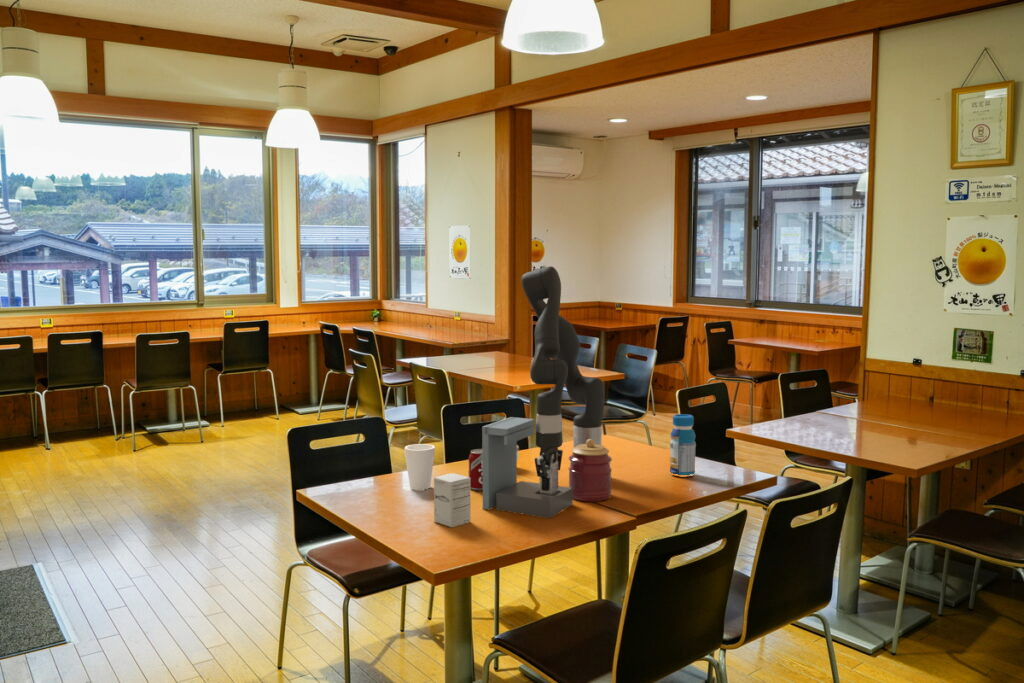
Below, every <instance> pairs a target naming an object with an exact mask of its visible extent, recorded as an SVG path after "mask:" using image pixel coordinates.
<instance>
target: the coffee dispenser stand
mask: <svg viewBox="0 0 1024 683" xmlns="http://www.w3.org/2000/svg"><path fill="white" fill-rule="evenodd" d="M481 431H482V432H481V433H482V434H481V435H482V438H481V440H482V443H481V449H482V477H483V491H482V510H486V509H490V510H491V508H492V509H494V508H495V507H497V506H496V493H497V492H499V491H501V490H503V489H507V488H509V487H511V486H514V484H516V483H518V478H517V477H518V475H517V472H518V468H517V467H518V466H517V465H518V463H517V462H518V460H517V445H518V443H517V442H518V441H520V440H523V439H526V438H528V437H530V436H534V435H535V419H534V418H526V417H524V418H523V417H514V416H509V417H507V418H504V419H501V420H497V421H495V422H492V423H490V424H486V425H484V426H482V428H481ZM494 506H495V507H494Z"/></svg>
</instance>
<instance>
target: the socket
mask: <svg viewBox="0 0 1024 683" xmlns="http://www.w3.org/2000/svg"><path fill="white" fill-rule="evenodd" d="M570 505H571V506H573V488H569V486H559V485H558V494H556V495H554V496H550V495H543V494H540V482H538V483H537V482H531V481H524V480H520V481H517V483H516V484H514V486H511V487H509V488H507V489H503V490H501V491H499V492H497V493H496V506H495V507H496V511H500V510H504V511H503V512H506V511H510V512H509V513H512V512H516V513H515V514H519V513H523V514H522V515H525V514H528V515H527V516H531V515H534V516H533V517H538V516H540V518H544V517H546V518H545V519H551V517H552V518H553V517H555V516H556V515H558V514H560V513H561V512H563V511H565V510H566V509H568V508H570V507H571V506H570ZM569 506H570V507H569ZM567 507H568V508H567ZM564 509H565V510H564ZM562 510H563V511H562ZM559 512H560V513H559ZM554 515H555V516H554Z"/></svg>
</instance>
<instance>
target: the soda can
mask: <svg viewBox="0 0 1024 683" xmlns="http://www.w3.org/2000/svg"><path fill="white" fill-rule="evenodd" d="M468 477H469V478H471V480H470V490H473V491H476V490H483V477H482V448H477V449H476V448H475V449H471V450H470V454H469V456H468Z"/></svg>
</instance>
